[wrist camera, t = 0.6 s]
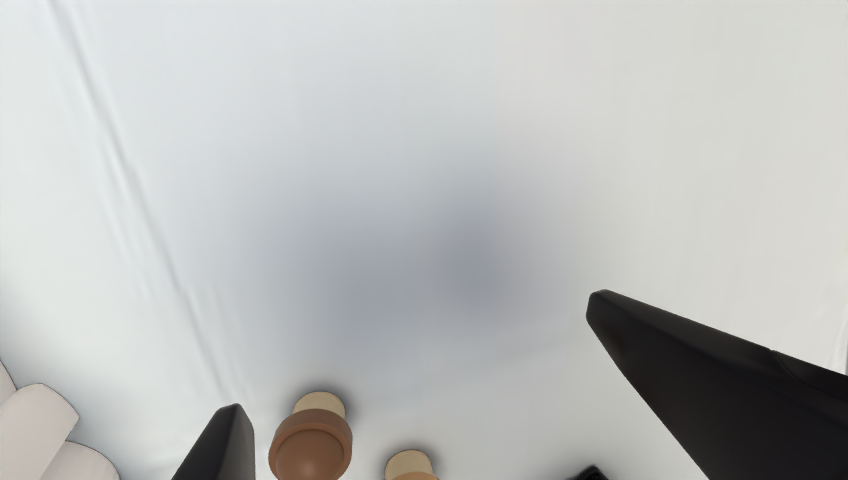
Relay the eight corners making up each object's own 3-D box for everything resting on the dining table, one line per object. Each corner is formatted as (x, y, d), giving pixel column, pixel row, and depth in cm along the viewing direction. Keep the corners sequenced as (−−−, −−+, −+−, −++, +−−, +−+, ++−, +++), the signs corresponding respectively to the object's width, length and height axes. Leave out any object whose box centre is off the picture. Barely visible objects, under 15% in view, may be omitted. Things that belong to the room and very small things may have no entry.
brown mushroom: (368, 411, 24) (367, 479, 19) (318, 453, 25) (304, 532, 20) (319, 369, 23) (305, 430, 18) (267, 414, 23) (239, 487, 18)
